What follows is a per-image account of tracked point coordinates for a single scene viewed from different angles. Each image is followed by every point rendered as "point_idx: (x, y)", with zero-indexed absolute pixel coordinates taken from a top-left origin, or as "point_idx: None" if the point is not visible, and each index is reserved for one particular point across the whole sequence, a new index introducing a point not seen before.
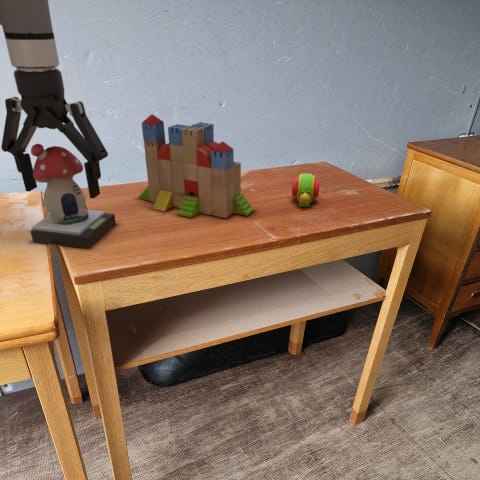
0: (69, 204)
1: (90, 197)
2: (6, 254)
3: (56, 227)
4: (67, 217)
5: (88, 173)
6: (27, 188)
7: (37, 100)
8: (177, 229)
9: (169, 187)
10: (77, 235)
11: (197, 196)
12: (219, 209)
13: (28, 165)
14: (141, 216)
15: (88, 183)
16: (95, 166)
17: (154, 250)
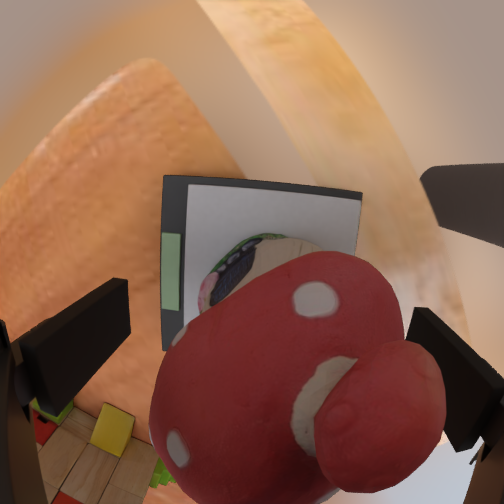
0: (231, 273)
1: (123, 279)
2: (383, 113)
3: (279, 209)
4: (247, 246)
5: (54, 319)
6: (424, 312)
7: None
8: (42, 315)
9: (92, 452)
10: (196, 181)
11: (33, 410)
12: None
13: (447, 396)
14: (137, 382)
15: (92, 302)
16: (12, 342)
17: (41, 205)
